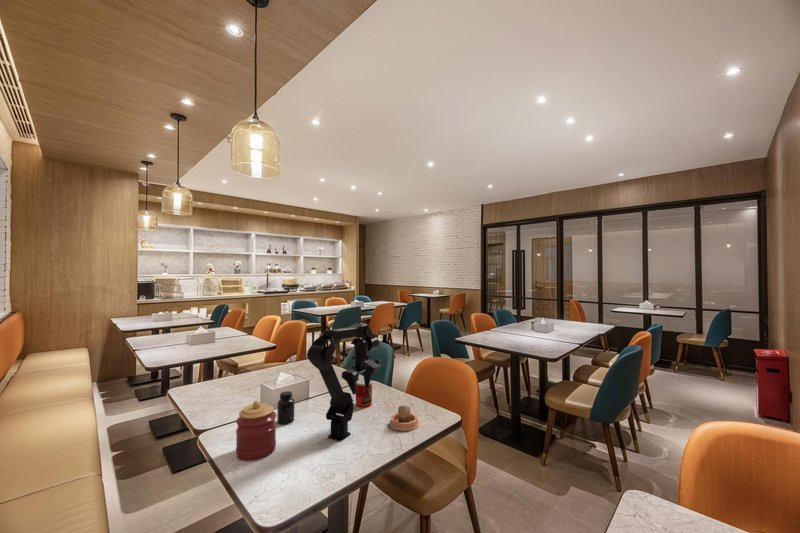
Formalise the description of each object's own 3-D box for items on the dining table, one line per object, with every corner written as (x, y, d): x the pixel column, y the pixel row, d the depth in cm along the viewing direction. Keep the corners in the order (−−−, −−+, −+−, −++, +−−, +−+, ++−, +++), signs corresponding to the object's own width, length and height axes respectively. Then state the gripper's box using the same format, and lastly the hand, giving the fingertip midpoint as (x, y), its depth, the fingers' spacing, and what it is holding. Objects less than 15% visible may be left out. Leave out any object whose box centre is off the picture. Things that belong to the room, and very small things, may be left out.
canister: (264, 439, 126) (264, 391, 127) (283, 450, 118) (283, 399, 119) (228, 453, 116) (229, 402, 117) (246, 466, 108) (247, 411, 109)
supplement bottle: (273, 423, 140) (273, 394, 140) (286, 417, 146) (286, 389, 146) (285, 426, 137) (285, 396, 137) (297, 420, 143) (298, 391, 143)
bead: (406, 426, 135) (406, 410, 135) (396, 423, 137) (396, 408, 137) (412, 421, 139) (412, 406, 139) (402, 418, 142) (402, 404, 142)
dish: (410, 433, 130) (410, 426, 130) (384, 426, 136) (384, 420, 136) (423, 421, 140) (423, 415, 141) (398, 416, 146) (398, 410, 146)
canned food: (364, 409, 154) (364, 385, 154) (352, 405, 159) (352, 381, 159) (375, 404, 160) (375, 381, 160) (363, 400, 165) (363, 378, 165)
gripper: (363, 360, 129) (363, 401, 129) (388, 351, 145) (388, 387, 145) (340, 357, 135) (340, 396, 134) (367, 348, 151) (367, 383, 150)
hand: (360, 390), depth 141 cm, fingers open, 9 cm apart
